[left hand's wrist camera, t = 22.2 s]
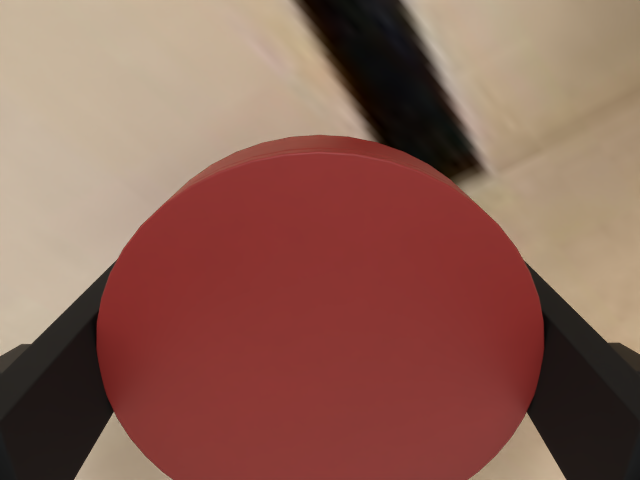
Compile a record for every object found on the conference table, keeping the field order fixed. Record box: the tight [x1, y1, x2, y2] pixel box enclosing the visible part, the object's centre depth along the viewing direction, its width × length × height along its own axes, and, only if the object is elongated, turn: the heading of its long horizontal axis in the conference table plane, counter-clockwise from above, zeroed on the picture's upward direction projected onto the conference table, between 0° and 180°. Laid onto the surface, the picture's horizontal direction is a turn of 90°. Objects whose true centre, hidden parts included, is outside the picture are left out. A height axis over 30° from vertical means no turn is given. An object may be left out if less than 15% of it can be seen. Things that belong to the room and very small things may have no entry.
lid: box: [96, 135, 544, 480], centre depth 11 cm, size 10×10×2 cm
